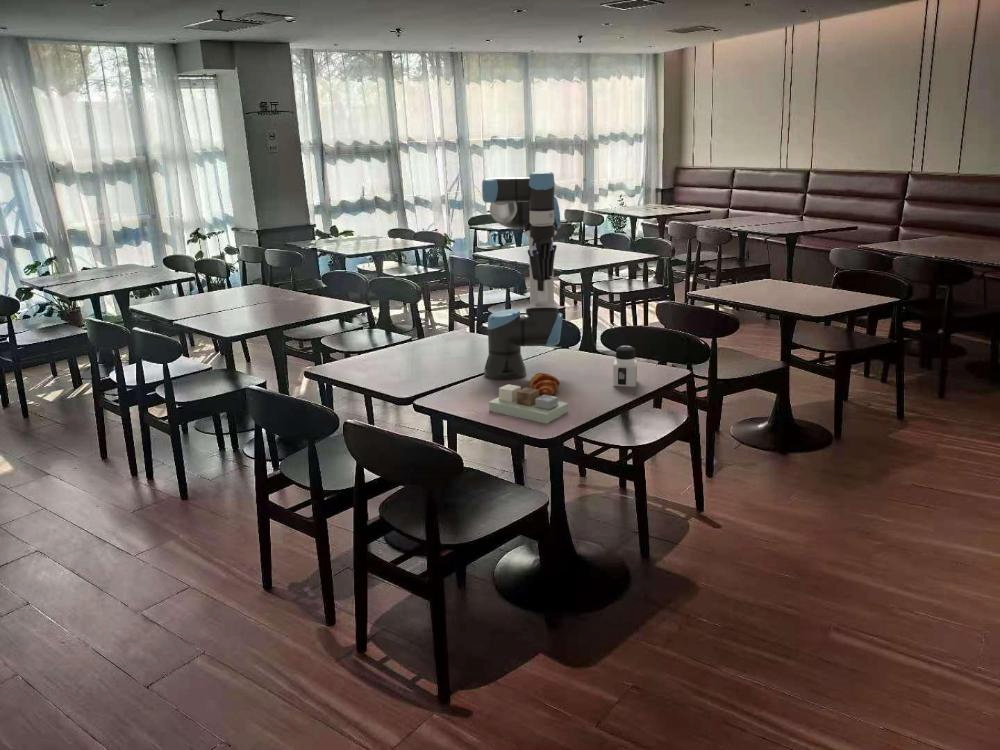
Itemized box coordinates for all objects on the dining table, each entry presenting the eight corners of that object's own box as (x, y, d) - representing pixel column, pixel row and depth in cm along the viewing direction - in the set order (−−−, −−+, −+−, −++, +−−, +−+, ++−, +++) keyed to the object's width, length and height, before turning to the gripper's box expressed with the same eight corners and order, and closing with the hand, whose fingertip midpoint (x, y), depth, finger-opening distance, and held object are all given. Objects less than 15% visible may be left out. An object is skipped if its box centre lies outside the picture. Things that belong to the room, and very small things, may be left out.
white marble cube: (535, 414, 251) (535, 398, 249) (544, 409, 255) (544, 394, 253) (549, 417, 248) (549, 401, 247) (557, 412, 252) (557, 397, 250)
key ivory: (499, 403, 259) (498, 388, 257) (508, 398, 262) (507, 384, 261) (511, 405, 256) (511, 390, 254) (520, 401, 260) (520, 386, 258)
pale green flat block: (489, 410, 257) (488, 401, 256) (510, 400, 266) (510, 391, 266) (547, 423, 245) (547, 414, 244) (567, 412, 254) (567, 403, 253)
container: (635, 387, 277) (636, 350, 273) (613, 386, 278) (613, 349, 274) (636, 380, 284) (637, 344, 280) (614, 379, 285) (615, 344, 282)
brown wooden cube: (517, 406, 254) (516, 391, 253) (526, 402, 258) (525, 387, 257) (530, 409, 252) (530, 394, 250) (539, 404, 255) (538, 389, 254)
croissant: (534, 391, 286) (524, 372, 285) (559, 377, 285) (549, 358, 283) (537, 410, 266) (525, 389, 264) (564, 395, 265) (552, 375, 263)
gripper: (540, 227, 238) (541, 305, 245) (564, 222, 248) (564, 298, 255) (519, 226, 242) (521, 303, 250) (543, 221, 252) (544, 295, 260)
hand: (542, 300), depth 252 cm, fingers closed
